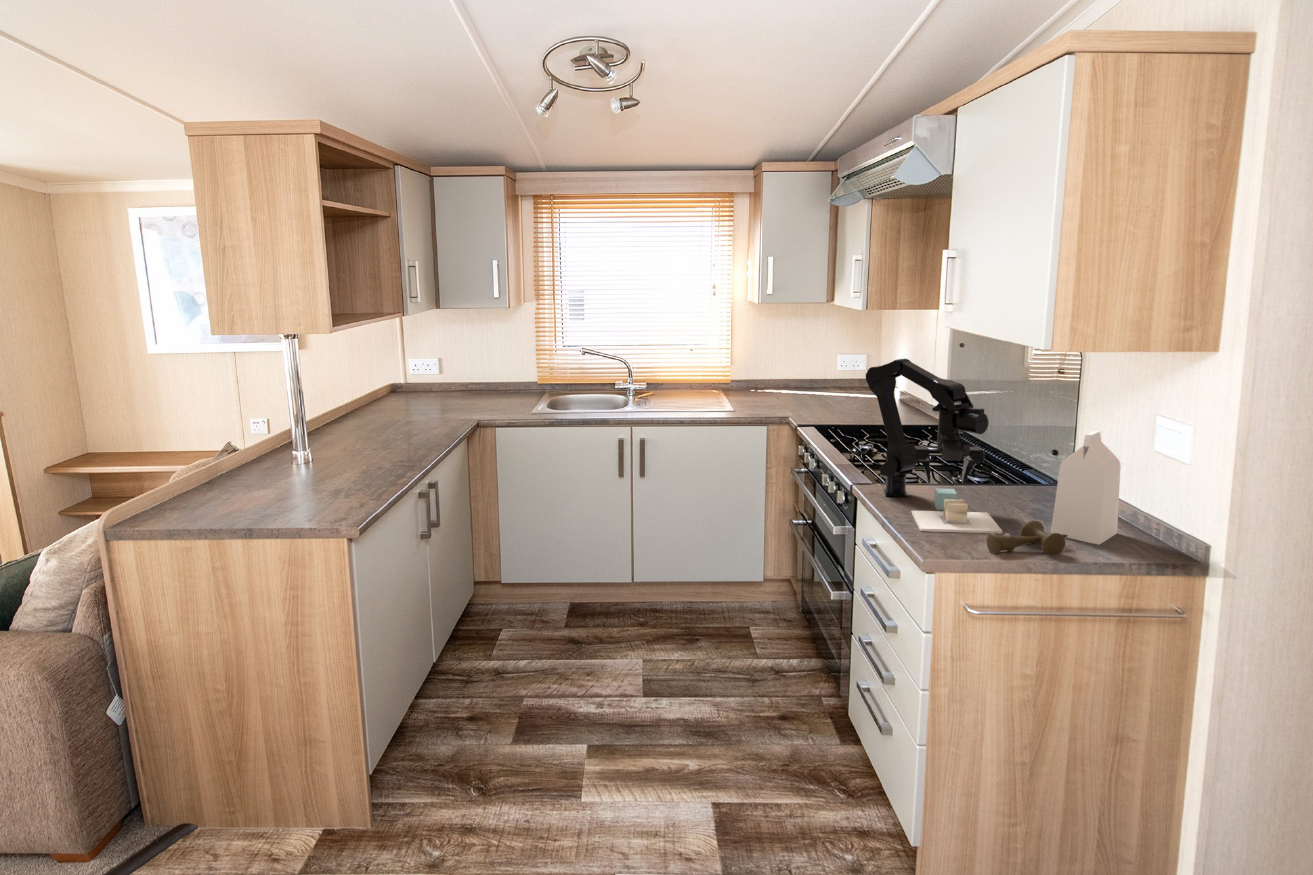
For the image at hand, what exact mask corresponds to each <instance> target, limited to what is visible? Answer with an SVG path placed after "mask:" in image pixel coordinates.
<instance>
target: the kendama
mask: <svg viewBox="0 0 1313 875" xmlns="http://www.w3.org/2000/svg"><path fill="white" fill-rule="evenodd" d="M1066 537H1067V535H1064V534H1063V535H1061V534H1059V533H1051V532H1050V533H1049V532H1046V531H1045V527H1044V525H1043V523H1042V522H1040V521H1038V520H1031V521H1027V522H1026V523H1024V525H1023V526H1022V528H1021V531H1020V535H1012V534H1011V533H1008V532H1005V533H1003V535H1000V534H999V535H997V533H988V534H987V537H986V547H987V549H988V551H989V553H990V554H992V555H999V554H1000V553H1001V552H1002V551H1008V552H1013V551H1014V550H1015V549H1016V548H1018V547H1021V546H1024V545H1028V544H1029V545H1035V544H1039V545H1041V546H1042V549H1043V551H1044V553H1045V554H1046V555H1048V556H1058V555H1059V554H1061V553H1062V552H1063V551H1064V549H1065V548H1066V539H1065V538H1066Z"/></svg>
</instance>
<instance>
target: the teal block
mask: <svg viewBox="0 0 1313 875" xmlns="http://www.w3.org/2000/svg"><path fill="white" fill-rule="evenodd" d="M934 492H935V493H934V506H935V508H936V511H944V499H957V498H958V493H957V492H956V490H955V488H935V489H934Z"/></svg>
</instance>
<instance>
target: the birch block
mask: <svg viewBox="0 0 1313 875" xmlns="http://www.w3.org/2000/svg"><path fill="white" fill-rule="evenodd" d="M968 506H969V505H968V503H967V502H966V500H965V499H961V498H960V499H944V510H943V511H944V513H943V517H944V519H945V520H946V522H947V523H967V512H968V511H969V510H968V509H969V508H968Z"/></svg>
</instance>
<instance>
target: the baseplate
mask: <svg viewBox="0 0 1313 875" xmlns="http://www.w3.org/2000/svg"><path fill="white" fill-rule="evenodd" d="M943 513H944V510H932V511H931V510H911V515H912V517H913V520H914V521H915V524H916V525H917V527H918V529H919V531H920V532H935V533H936V532H938V533H939V532H940V533H969V534H972V533H973V534H990V533H993V534H999V535H1000V534H1003V530H1002V529H1001V527H999V525H998V523H996V521H995V520H994V519H993V517H992V516H991V515H990V514H989V512H982V511H981V512H978V511H977V512H976V511H967V523H947V522H946V520H945V519H944V517H943Z"/></svg>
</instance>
